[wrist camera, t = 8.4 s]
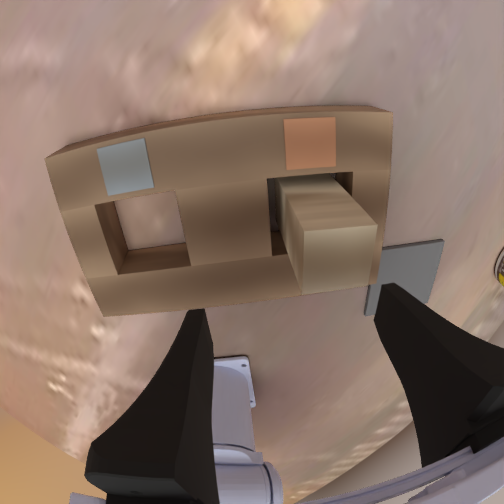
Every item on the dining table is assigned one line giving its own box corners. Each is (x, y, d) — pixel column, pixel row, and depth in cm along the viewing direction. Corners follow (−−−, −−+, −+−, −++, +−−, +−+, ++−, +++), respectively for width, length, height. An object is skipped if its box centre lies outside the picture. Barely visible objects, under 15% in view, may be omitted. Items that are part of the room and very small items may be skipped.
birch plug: (323, 216, 22) (367, 285, 15) (276, 220, 22) (302, 294, 15) (325, 169, 20) (377, 224, 13) (274, 172, 20) (304, 231, 13)
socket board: (361, 260, 24) (376, 284, 21) (113, 291, 23) (103, 317, 21) (370, 105, 18) (393, 112, 15) (65, 146, 17) (43, 159, 14)
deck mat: (425, 300, 27) (427, 302, 27) (363, 313, 27) (365, 316, 27) (442, 239, 24) (444, 241, 23) (374, 248, 24) (376, 251, 23)
